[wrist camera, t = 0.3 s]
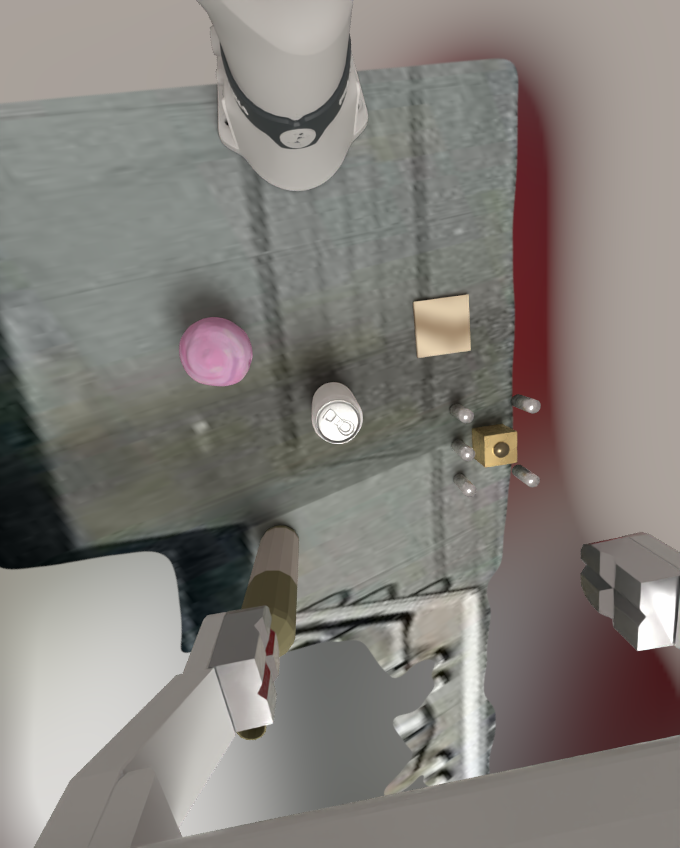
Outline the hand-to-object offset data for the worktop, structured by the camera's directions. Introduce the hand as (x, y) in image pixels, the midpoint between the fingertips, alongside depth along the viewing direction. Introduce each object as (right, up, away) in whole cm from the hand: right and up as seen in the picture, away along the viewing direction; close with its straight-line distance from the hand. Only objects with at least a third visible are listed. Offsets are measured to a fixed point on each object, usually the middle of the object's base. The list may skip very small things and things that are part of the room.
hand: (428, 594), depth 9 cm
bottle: (-12, -15, +52) cm, 56 cm away
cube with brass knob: (+22, +2, +50) cm, 55 cm away
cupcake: (-18, +15, +44) cm, 50 cm away
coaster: (+13, +19, +45) cm, 50 cm away
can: (-3, +8, +47) cm, 48 cm away
